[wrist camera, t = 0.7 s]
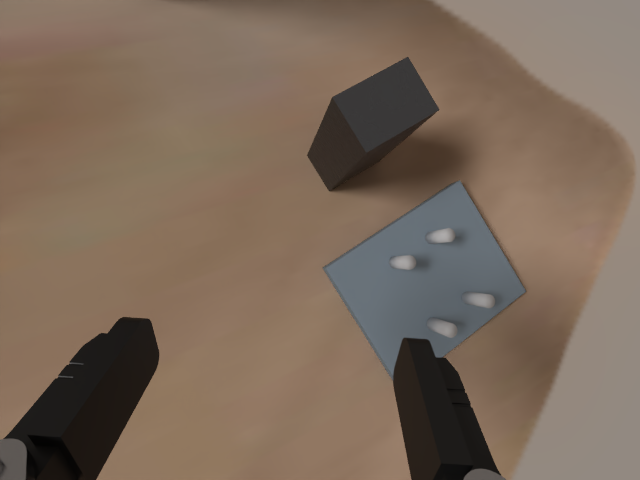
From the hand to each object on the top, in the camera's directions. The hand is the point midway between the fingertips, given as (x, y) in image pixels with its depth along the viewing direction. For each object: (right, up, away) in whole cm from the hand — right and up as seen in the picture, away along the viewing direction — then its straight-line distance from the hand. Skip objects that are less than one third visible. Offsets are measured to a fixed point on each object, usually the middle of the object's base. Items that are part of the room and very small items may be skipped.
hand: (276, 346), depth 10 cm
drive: (+4, +11, +21) cm, 24 cm away
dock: (+12, -1, +21) cm, 24 cm away
